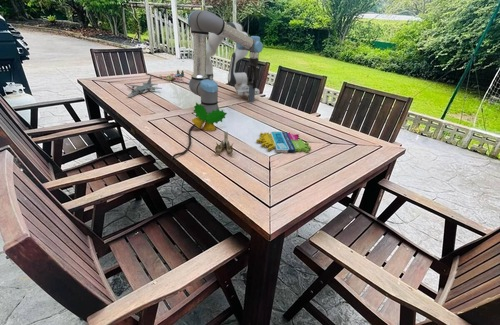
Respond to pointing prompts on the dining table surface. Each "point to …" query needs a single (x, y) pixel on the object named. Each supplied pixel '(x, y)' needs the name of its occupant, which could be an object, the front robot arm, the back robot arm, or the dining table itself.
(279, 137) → the packaged colorful gloves
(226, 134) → the jawbone
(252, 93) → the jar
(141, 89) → the airplane
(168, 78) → the toy
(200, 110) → the ornament
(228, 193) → the dining table surface
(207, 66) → the back robot arm
